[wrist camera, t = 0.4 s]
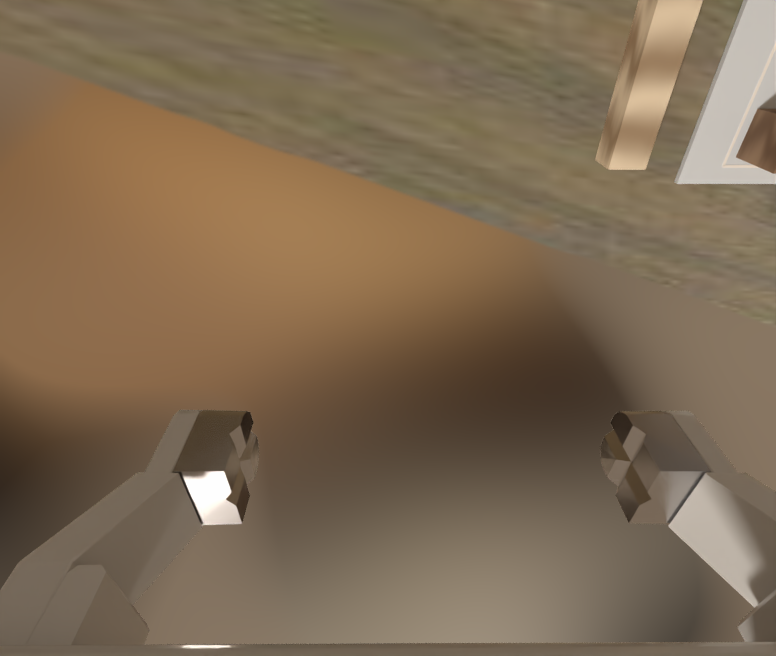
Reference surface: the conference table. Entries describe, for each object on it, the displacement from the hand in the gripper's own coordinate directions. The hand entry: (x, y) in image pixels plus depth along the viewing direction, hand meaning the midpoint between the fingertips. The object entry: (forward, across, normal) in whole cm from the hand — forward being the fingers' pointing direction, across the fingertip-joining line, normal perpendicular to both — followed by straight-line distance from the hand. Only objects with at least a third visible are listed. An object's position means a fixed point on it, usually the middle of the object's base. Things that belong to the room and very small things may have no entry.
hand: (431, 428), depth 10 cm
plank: (+46, -25, -3) cm, 52 cm away
